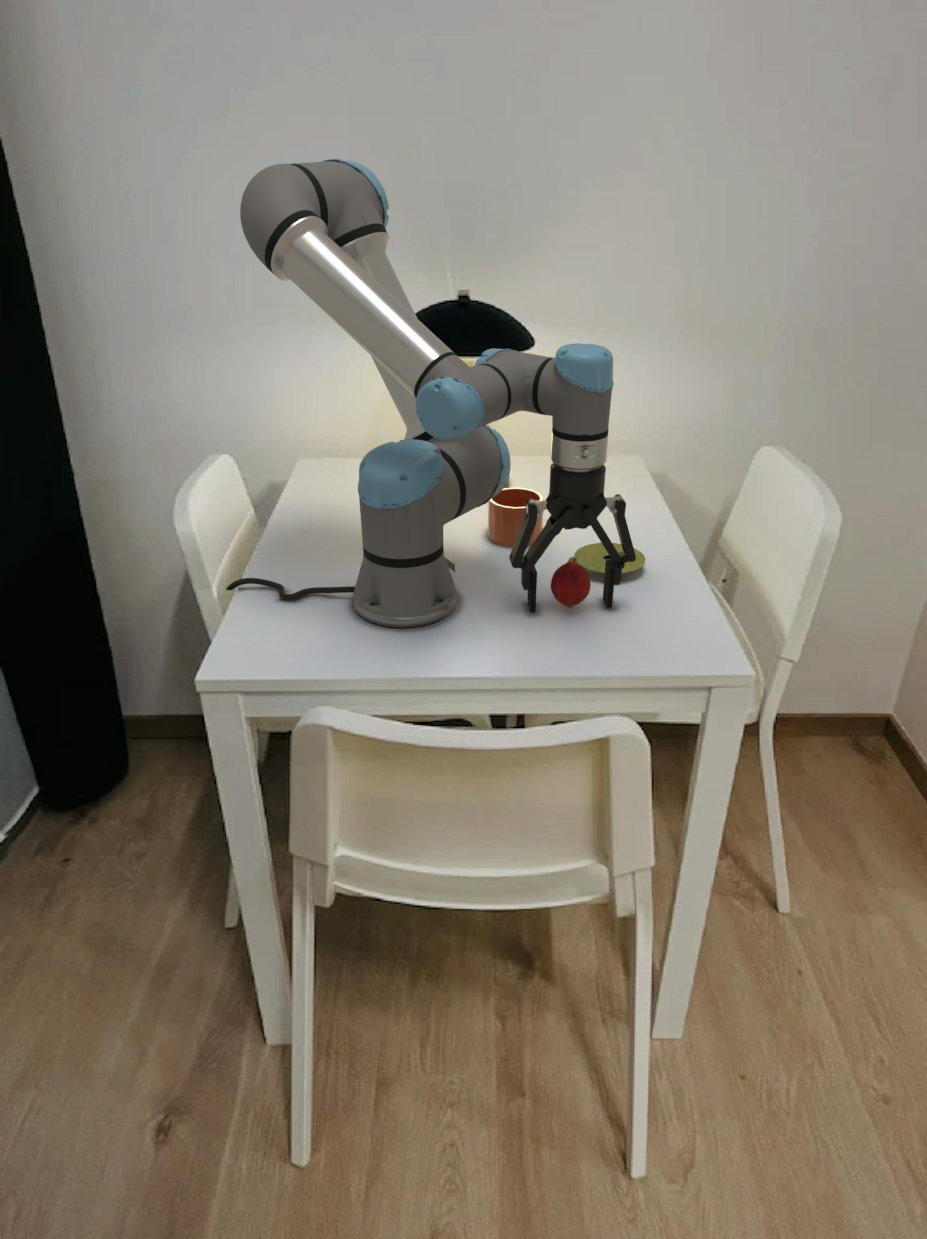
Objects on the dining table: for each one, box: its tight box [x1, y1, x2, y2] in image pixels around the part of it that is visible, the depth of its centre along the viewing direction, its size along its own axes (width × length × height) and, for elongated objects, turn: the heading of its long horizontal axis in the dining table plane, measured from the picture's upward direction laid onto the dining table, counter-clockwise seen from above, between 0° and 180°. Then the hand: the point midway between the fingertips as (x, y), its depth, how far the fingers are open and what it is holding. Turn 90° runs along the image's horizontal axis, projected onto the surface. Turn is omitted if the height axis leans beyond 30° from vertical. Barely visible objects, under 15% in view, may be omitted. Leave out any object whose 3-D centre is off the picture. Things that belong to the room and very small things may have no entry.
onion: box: [550, 556, 591, 608], centre depth 133 cm, size 6×6×8 cm
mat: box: [573, 542, 646, 574], centre depth 146 cm, size 11×11×2 cm
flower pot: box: [487, 487, 545, 548], centre depth 155 cm, size 9×9×7 cm
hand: (569, 605), depth 135 cm, fingers open, 11 cm apart
